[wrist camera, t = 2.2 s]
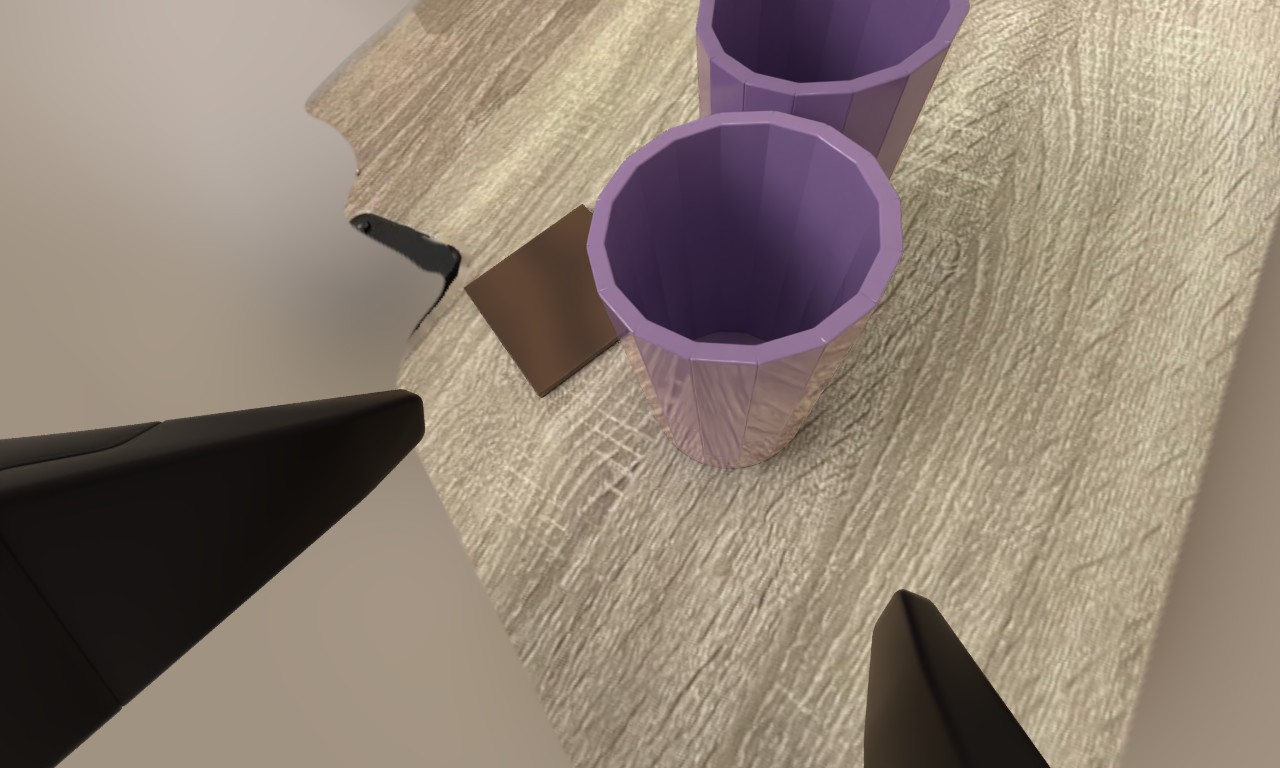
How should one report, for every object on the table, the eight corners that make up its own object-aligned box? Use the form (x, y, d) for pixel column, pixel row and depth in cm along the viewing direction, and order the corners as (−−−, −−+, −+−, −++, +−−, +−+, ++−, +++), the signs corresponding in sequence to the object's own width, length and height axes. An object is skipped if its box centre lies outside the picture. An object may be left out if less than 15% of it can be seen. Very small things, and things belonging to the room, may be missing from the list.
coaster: (541, 398, 23) (538, 395, 22) (466, 291, 26) (463, 287, 26) (672, 300, 24) (670, 296, 23) (584, 208, 27) (582, 203, 26)
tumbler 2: (718, 500, 20) (716, 431, 9) (627, 386, 22) (535, 221, 11) (837, 404, 20) (979, 225, 9) (735, 304, 23) (749, 69, 12)
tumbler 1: (770, 349, 22) (823, 137, 11) (681, 261, 24) (648, 16, 13) (877, 266, 22) (1033, -17, 11) (779, 188, 25) (827, -104, 14)
